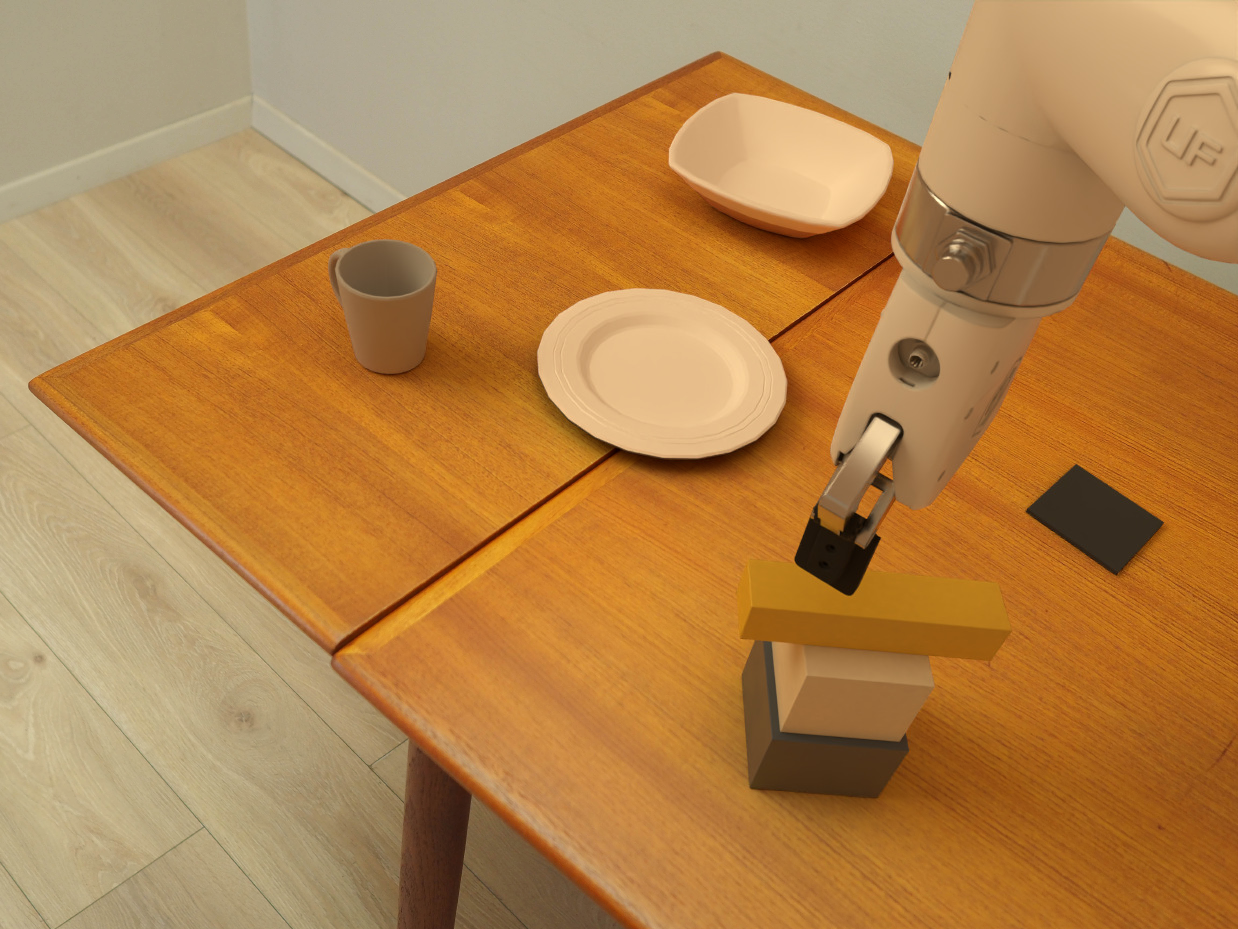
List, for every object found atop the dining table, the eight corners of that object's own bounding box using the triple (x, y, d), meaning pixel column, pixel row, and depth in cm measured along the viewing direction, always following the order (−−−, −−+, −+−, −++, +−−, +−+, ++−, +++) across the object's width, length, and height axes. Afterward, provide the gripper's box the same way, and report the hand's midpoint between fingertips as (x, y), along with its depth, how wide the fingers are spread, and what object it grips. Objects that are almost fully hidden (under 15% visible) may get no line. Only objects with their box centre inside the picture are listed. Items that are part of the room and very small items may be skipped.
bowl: (840, 288, 100) (855, 242, 96) (635, 211, 105) (643, 164, 101) (896, 187, 115) (912, 143, 111) (714, 123, 119) (724, 79, 115)
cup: (390, 397, 83) (386, 312, 76) (301, 339, 86) (291, 253, 80) (456, 352, 87) (458, 268, 81) (369, 298, 91) (365, 214, 84)
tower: (859, 684, 70) (919, 575, 61) (877, 798, 64) (946, 695, 56) (741, 674, 69) (784, 562, 60) (749, 788, 64) (798, 683, 55)
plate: (755, 506, 80) (760, 489, 78) (497, 426, 82) (498, 408, 81) (802, 343, 94) (807, 326, 92) (581, 279, 96) (583, 262, 95)
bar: (978, 613, 60) (998, 581, 57) (991, 661, 57) (1012, 630, 55) (735, 591, 59) (747, 557, 56) (739, 639, 56) (751, 606, 54)
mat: (1162, 525, 84) (1164, 522, 83) (1115, 575, 79) (1118, 572, 79) (1074, 466, 87) (1076, 463, 87) (1025, 511, 83) (1027, 508, 82)
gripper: (1007, 382, 34) (858, 673, 46) (1155, 184, 44) (1002, 464, 57) (806, 282, 36) (715, 582, 49) (991, 117, 47) (878, 398, 59)
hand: (869, 518), depth 53 cm, fingers open, 9 cm apart
